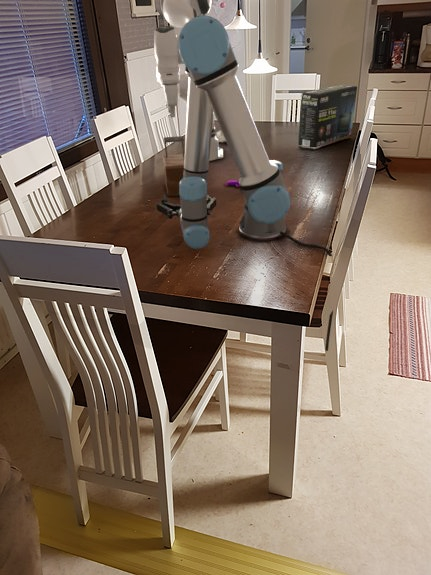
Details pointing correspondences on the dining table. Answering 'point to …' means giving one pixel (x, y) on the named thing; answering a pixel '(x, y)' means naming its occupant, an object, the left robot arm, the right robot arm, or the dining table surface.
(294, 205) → the dining table surface
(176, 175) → the chest
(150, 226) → the dining table surface
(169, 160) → the lid
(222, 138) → the fossil
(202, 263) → the dining table surface
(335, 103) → the router box
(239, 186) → the handgun
